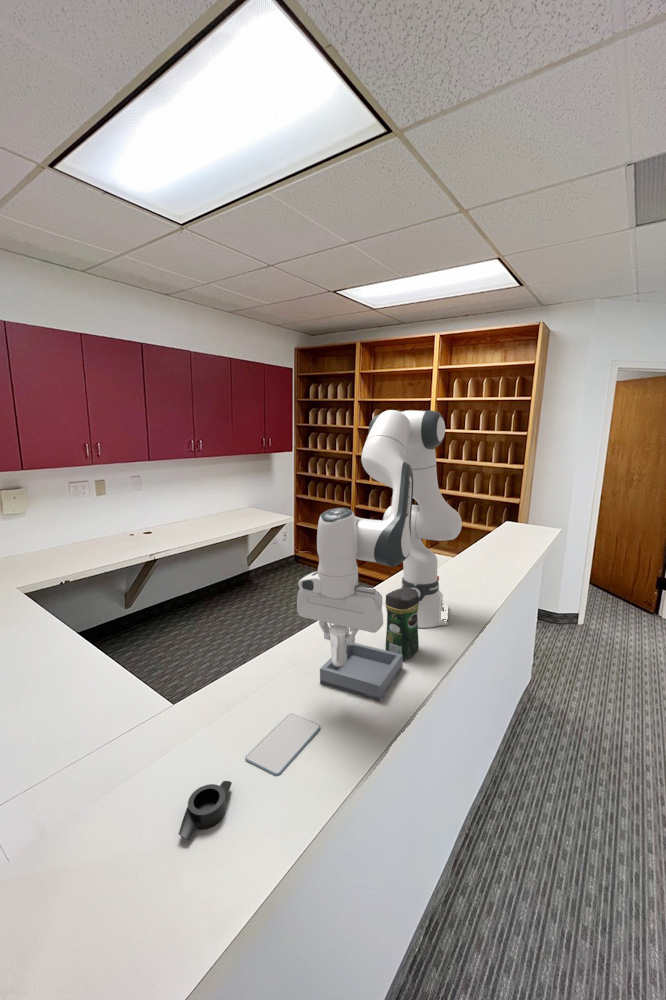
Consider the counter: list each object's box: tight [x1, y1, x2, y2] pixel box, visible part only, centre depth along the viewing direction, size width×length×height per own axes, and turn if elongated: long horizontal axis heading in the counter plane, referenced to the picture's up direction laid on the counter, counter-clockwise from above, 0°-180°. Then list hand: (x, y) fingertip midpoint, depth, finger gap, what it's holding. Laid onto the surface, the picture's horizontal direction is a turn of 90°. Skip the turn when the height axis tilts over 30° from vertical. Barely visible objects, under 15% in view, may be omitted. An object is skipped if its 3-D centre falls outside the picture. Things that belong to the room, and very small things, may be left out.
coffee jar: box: [384, 587, 420, 661], centre depth 116 cm, size 10×8×19 cm
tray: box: [319, 642, 404, 703], centre depth 106 cm, size 16×16×4 cm
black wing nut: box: [178, 780, 233, 841], centre depth 67 cm, size 8×10×3 cm
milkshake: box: [328, 623, 350, 667], centre depth 93 cm, size 4×5×10 cm
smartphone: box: [244, 713, 321, 777], centre depth 83 cm, size 8×1×15 cm
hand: (339, 641), depth 93 cm, fingers closed on milkshake, 4 cm apart
